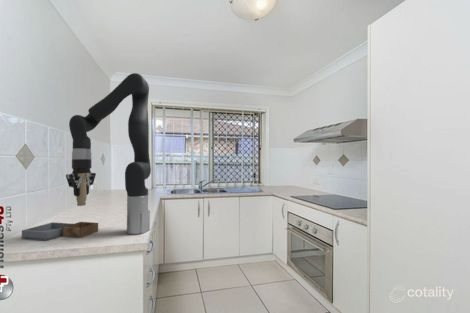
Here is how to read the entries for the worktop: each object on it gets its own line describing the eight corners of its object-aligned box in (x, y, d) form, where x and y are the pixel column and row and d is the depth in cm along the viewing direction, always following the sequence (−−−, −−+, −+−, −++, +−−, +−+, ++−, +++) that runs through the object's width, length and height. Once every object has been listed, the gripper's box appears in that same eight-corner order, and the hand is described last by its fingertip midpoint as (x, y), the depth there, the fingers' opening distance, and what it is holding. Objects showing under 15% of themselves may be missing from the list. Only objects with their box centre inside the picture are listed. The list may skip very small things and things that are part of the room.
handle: (70, 206, 98) (70, 173, 99) (84, 204, 104) (84, 172, 105) (78, 207, 97) (78, 173, 97) (91, 204, 103) (91, 172, 103)
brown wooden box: (98, 231, 104) (98, 222, 104) (80, 237, 95) (80, 228, 95) (80, 229, 106) (80, 221, 106) (61, 236, 97) (62, 227, 97)
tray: (75, 231, 104) (76, 223, 104) (47, 240, 91) (47, 232, 91) (52, 229, 107) (52, 222, 107) (21, 238, 94) (21, 230, 94)
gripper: (74, 158, 93) (73, 198, 93) (100, 158, 107) (100, 193, 107) (60, 158, 95) (59, 197, 94) (88, 159, 109) (88, 193, 108)
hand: (81, 195), depth 101 cm, fingers closed on handle, 4 cm apart
